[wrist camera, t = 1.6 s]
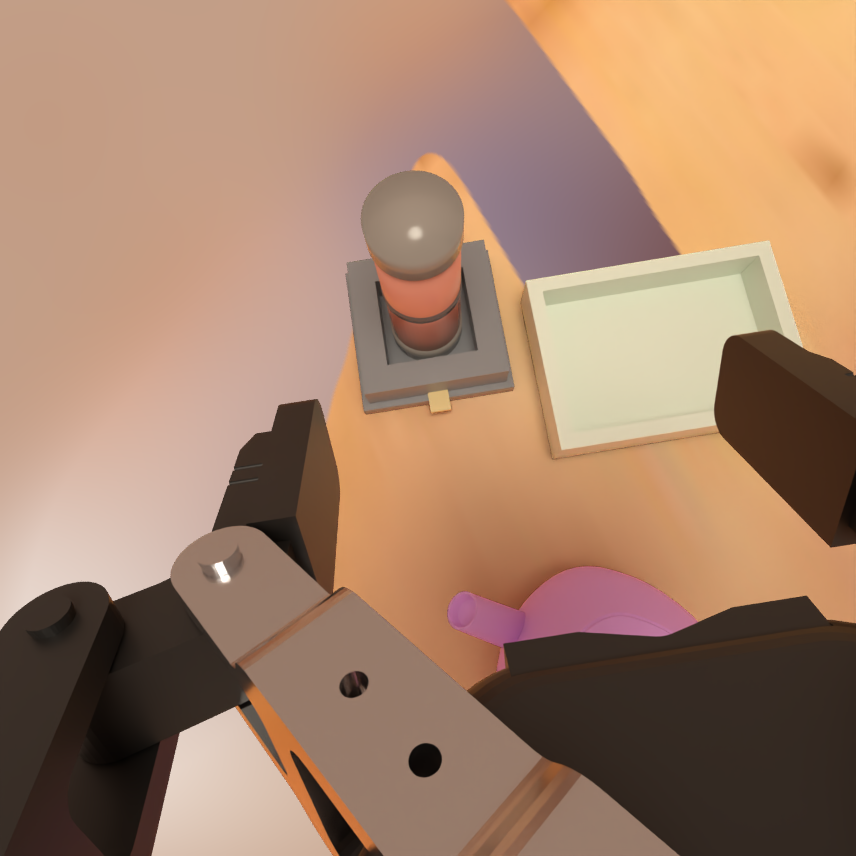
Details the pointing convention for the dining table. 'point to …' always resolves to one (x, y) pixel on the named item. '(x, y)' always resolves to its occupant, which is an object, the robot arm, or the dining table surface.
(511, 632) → the teapot
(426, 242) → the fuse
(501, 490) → the dining table surface
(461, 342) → the socket block
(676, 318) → the parts tray
